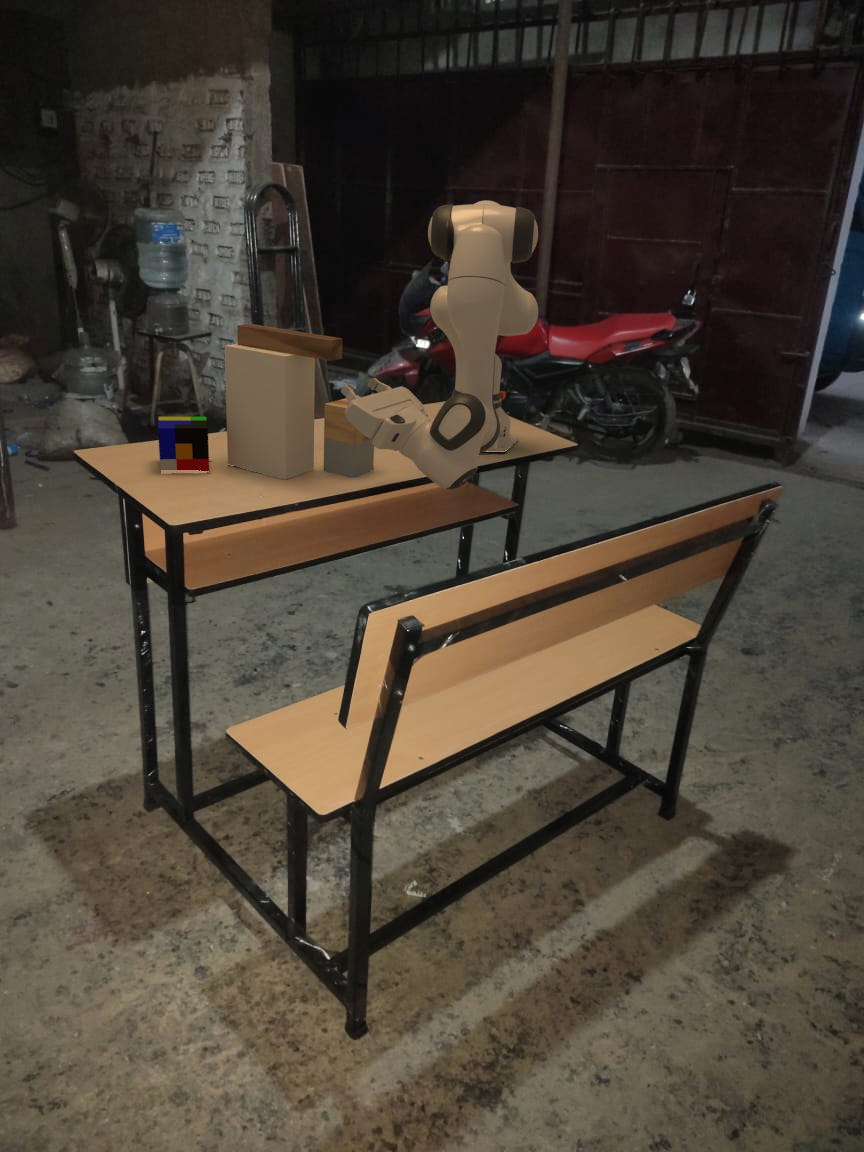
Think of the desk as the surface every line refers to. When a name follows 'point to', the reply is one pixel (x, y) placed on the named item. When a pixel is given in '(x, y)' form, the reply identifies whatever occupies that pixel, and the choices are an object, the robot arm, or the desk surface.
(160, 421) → the puzzle toy
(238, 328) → the walnut bar
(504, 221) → the robot arm
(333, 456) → the tower bottom
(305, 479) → the desk surface
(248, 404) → the tall beige box
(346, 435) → the tower top
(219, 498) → the desk surface
